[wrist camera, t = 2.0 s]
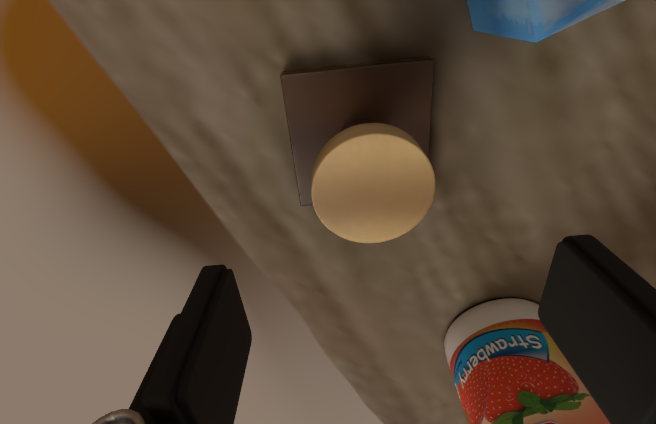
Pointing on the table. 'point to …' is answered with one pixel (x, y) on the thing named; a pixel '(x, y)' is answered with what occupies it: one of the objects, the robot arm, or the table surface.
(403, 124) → the stand
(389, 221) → the chip
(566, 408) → the white yogurt drink bottle
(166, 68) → the table surface
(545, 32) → the perfume bottle
